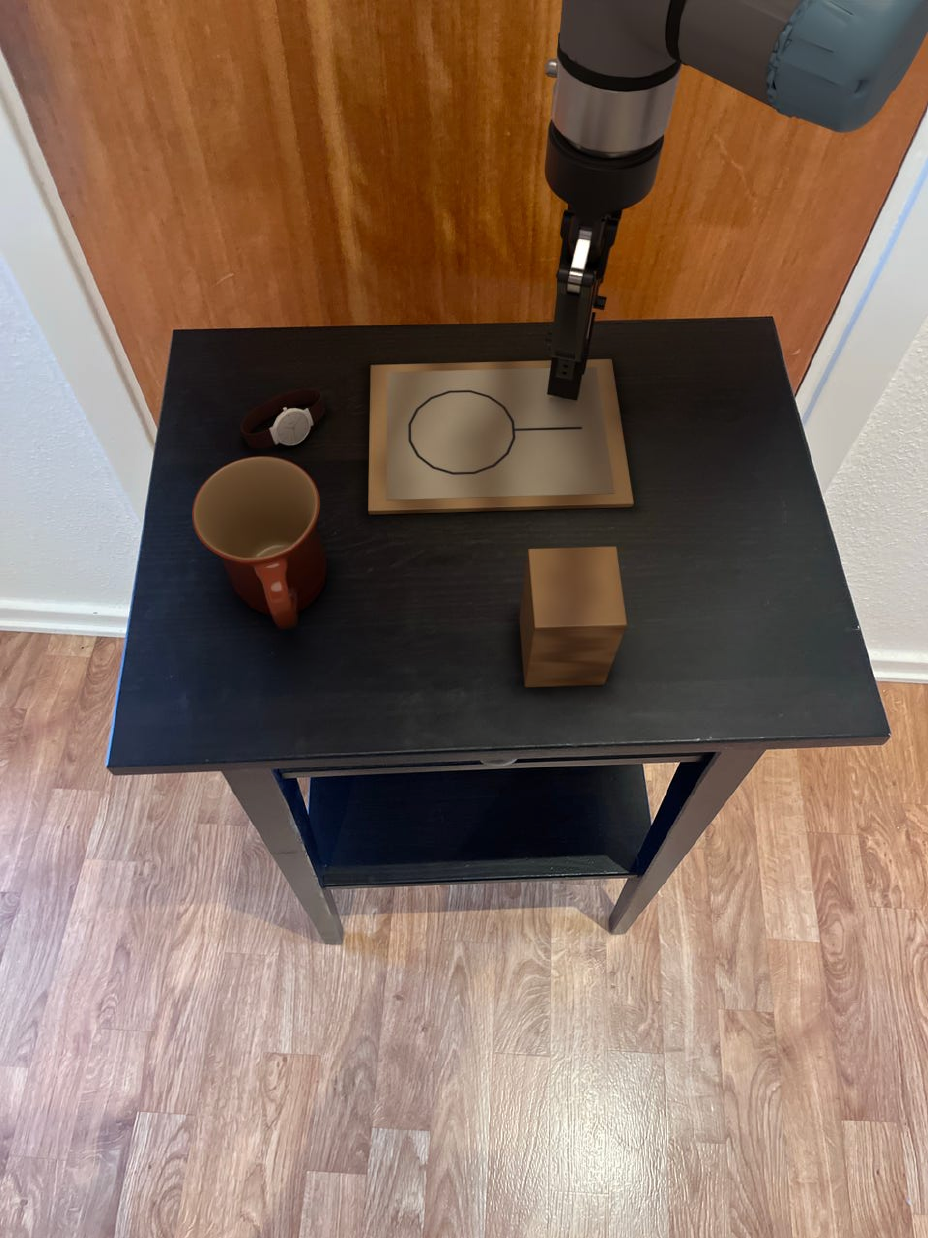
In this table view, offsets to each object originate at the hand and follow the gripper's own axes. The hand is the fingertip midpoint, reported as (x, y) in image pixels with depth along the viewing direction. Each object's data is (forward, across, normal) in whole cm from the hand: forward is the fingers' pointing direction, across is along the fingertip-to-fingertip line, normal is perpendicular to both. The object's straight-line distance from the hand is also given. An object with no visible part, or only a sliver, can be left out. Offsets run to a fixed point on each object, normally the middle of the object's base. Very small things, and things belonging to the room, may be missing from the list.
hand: (566, 380), depth 76 cm
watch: (+2, +10, -23) cm, 25 cm away
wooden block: (+2, +25, +5) cm, 26 cm away
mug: (+2, +26, -17) cm, 31 cm away
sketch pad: (+2, +6, -5) cm, 8 cm away
